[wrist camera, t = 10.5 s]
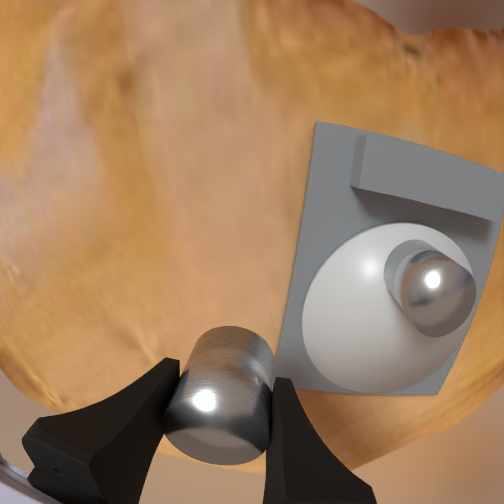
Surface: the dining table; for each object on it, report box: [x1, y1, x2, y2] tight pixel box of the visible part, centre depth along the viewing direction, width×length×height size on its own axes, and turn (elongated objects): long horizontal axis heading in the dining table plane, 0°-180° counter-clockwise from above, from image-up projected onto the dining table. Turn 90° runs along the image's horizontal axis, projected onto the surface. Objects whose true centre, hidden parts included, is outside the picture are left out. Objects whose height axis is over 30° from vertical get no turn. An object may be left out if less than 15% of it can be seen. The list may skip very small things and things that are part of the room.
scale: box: [273, 121, 504, 395], centre depth 19 cm, size 15×19×4 cm
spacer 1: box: [162, 326, 274, 465], centre depth 12 cm, size 4×4×5 cm
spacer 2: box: [383, 239, 476, 337], centre depth 16 cm, size 4×4×5 cm
